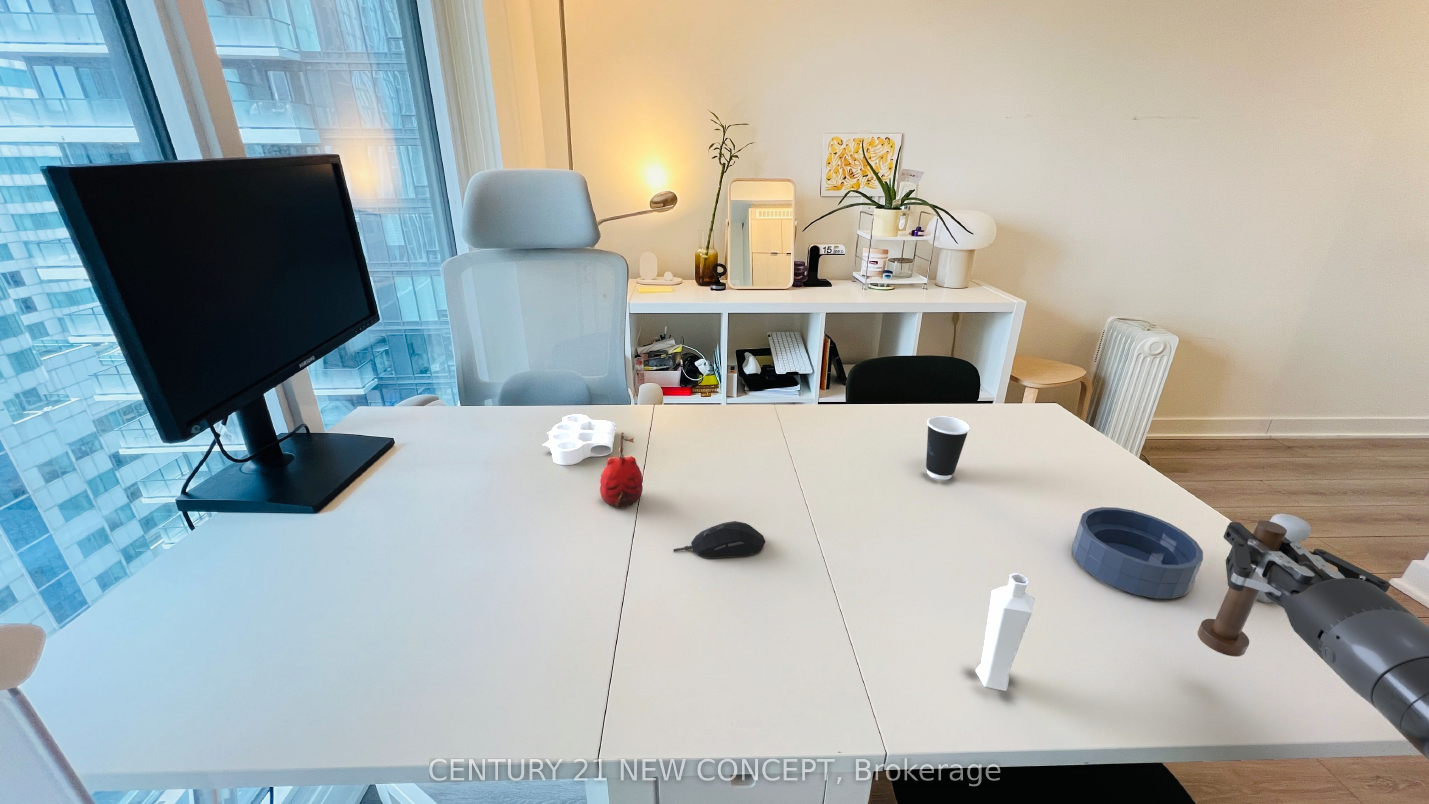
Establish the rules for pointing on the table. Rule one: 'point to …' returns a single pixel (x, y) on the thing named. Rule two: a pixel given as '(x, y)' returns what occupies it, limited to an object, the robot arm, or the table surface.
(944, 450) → the dixie cup
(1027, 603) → the perfume bottle
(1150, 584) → the bowl
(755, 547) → the gaming mouse
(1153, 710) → the table surface
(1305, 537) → the salt shaker
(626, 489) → the red clay folk toy
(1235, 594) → the pestle
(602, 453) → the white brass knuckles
